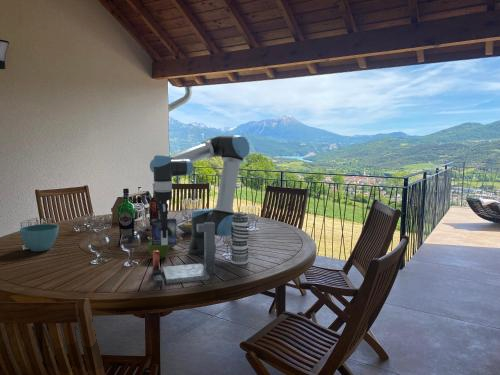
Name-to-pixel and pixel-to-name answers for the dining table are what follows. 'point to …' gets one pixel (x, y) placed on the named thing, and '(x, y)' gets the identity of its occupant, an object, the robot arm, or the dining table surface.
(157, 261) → the lever
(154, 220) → the small box
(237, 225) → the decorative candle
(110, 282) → the dining table surface
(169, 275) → the press
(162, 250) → the apple
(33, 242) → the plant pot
